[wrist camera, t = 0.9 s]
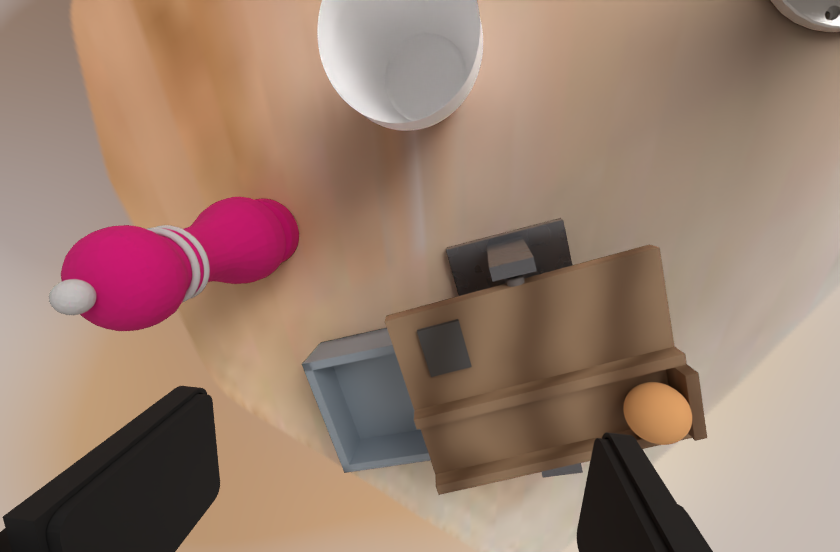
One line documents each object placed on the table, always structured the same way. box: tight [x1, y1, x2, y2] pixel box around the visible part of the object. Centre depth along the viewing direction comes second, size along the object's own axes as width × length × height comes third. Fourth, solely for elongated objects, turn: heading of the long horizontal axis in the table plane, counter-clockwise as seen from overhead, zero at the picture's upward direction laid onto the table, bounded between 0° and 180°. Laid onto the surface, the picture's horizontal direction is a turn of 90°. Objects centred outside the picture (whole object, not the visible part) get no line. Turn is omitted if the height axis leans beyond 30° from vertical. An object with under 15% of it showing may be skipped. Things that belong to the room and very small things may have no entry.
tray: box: [385, 245, 707, 495], centre depth 28 cm, size 19×15×4 cm
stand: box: [446, 218, 583, 477], centre depth 33 cm, size 10×18×9 cm, turn 17°
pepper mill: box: [49, 197, 299, 331], centre depth 28 cm, size 7×7×20 cm
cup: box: [318, 0, 483, 131], centre depth 27 cm, size 9×9×12 cm
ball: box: [623, 382, 692, 445], centre depth 27 cm, size 4×4×4 cm
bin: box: [302, 328, 431, 473], centre depth 38 cm, size 13×12×4 cm
